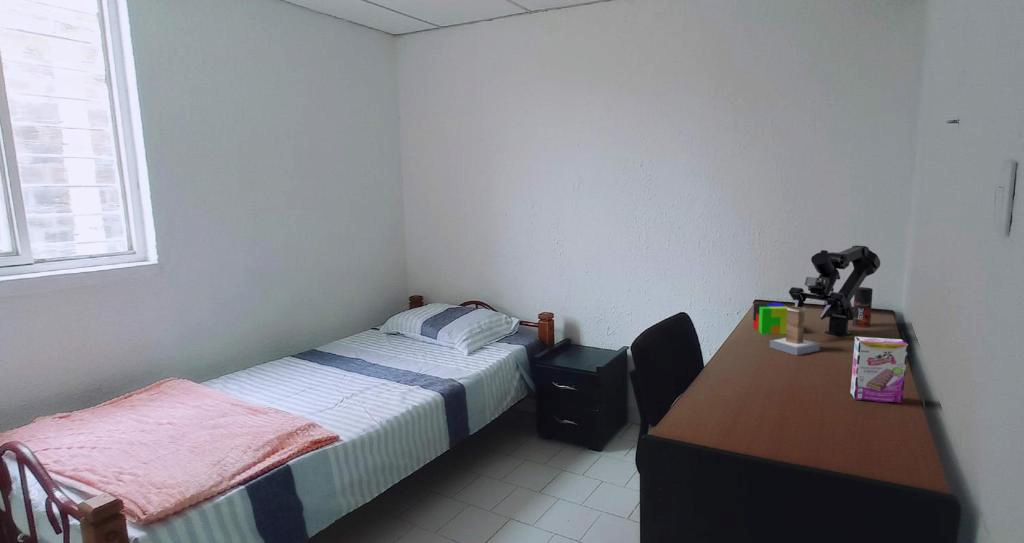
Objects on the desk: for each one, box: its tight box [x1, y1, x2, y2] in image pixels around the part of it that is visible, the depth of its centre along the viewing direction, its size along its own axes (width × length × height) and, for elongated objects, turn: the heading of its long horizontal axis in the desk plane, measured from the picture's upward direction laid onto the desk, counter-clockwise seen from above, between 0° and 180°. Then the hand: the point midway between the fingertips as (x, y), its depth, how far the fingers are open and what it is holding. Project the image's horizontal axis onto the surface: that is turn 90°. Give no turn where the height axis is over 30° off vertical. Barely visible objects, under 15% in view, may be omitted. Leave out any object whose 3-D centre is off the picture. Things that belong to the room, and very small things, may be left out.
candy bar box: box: [850, 336, 909, 403], centre depth 145 cm, size 11×5×16 cm, turn 71°
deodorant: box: [852, 286, 873, 329], centre depth 217 cm, size 6×6×15 cm
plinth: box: [769, 336, 821, 356], centre depth 191 cm, size 11×11×3 cm
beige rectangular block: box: [785, 305, 806, 344], centre depth 190 cm, size 4×4×12 cm
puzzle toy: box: [752, 302, 788, 335], centre depth 215 cm, size 10×10×10 cm
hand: (807, 316), depth 194 cm, fingers open, 9 cm apart
